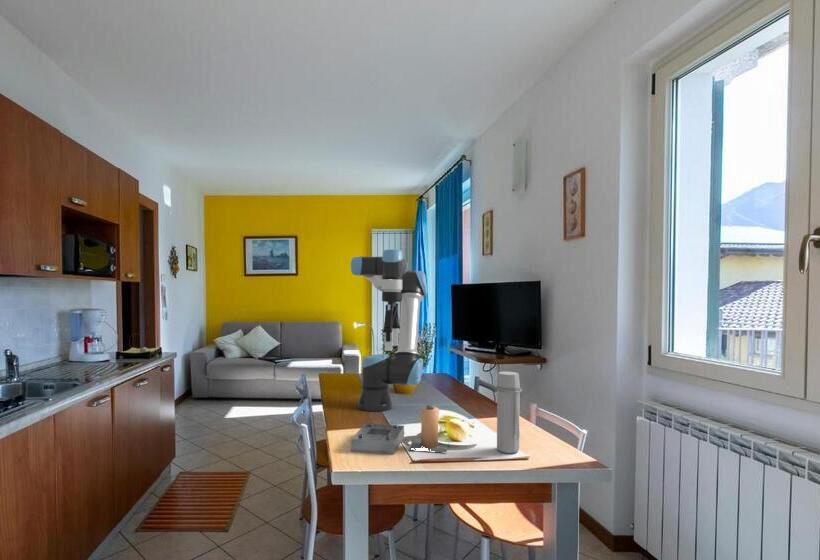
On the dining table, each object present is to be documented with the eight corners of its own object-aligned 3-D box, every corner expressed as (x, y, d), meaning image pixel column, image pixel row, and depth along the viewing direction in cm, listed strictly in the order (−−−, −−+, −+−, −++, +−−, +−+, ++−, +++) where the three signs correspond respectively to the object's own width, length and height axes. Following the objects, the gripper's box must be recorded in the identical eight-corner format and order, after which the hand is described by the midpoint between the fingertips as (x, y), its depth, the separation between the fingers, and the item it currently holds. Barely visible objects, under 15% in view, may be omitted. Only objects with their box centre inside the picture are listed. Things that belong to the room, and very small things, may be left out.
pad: (414, 439, 159) (414, 438, 159) (449, 441, 157) (449, 440, 157) (408, 451, 147) (408, 449, 147) (446, 453, 145) (446, 452, 145)
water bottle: (491, 448, 151) (492, 372, 152) (511, 445, 154) (511, 370, 155) (508, 457, 142) (508, 376, 143) (528, 454, 145) (529, 375, 146)
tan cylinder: (421, 441, 155) (422, 402, 155) (438, 442, 154) (439, 403, 154) (420, 447, 149) (421, 407, 149) (437, 448, 149) (438, 408, 149)
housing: (365, 434, 164) (365, 421, 164) (404, 437, 162) (404, 423, 162) (351, 451, 146) (351, 436, 146) (394, 454, 144) (394, 439, 144)
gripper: (387, 290, 184) (387, 343, 184) (375, 291, 159) (375, 352, 159) (406, 290, 183) (405, 343, 183) (397, 291, 158) (396, 353, 158)
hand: (391, 348), depth 171 cm, fingers open, 13 cm apart
